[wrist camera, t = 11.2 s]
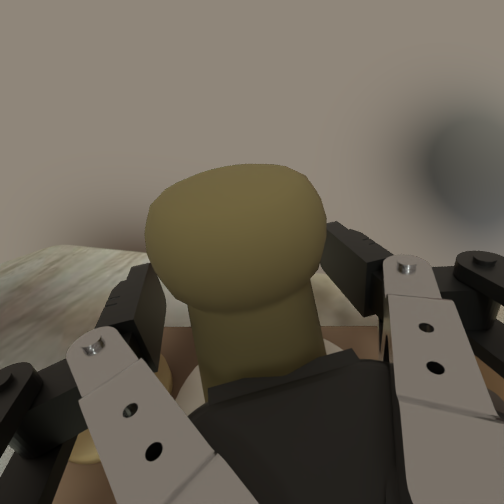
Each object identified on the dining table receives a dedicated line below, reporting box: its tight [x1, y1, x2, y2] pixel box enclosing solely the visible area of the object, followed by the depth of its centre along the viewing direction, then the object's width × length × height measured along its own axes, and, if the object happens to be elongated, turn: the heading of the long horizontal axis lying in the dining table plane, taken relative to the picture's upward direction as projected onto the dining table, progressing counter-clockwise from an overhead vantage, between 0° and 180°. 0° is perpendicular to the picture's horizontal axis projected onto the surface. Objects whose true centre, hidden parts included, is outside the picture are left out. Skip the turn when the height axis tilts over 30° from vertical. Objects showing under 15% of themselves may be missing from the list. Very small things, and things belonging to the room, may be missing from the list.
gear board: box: [52, 326, 504, 504], centre depth 13 cm, size 24×11×3 cm, turn 81°
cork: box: [145, 164, 327, 403], centre depth 10 cm, size 6×6×11 cm
